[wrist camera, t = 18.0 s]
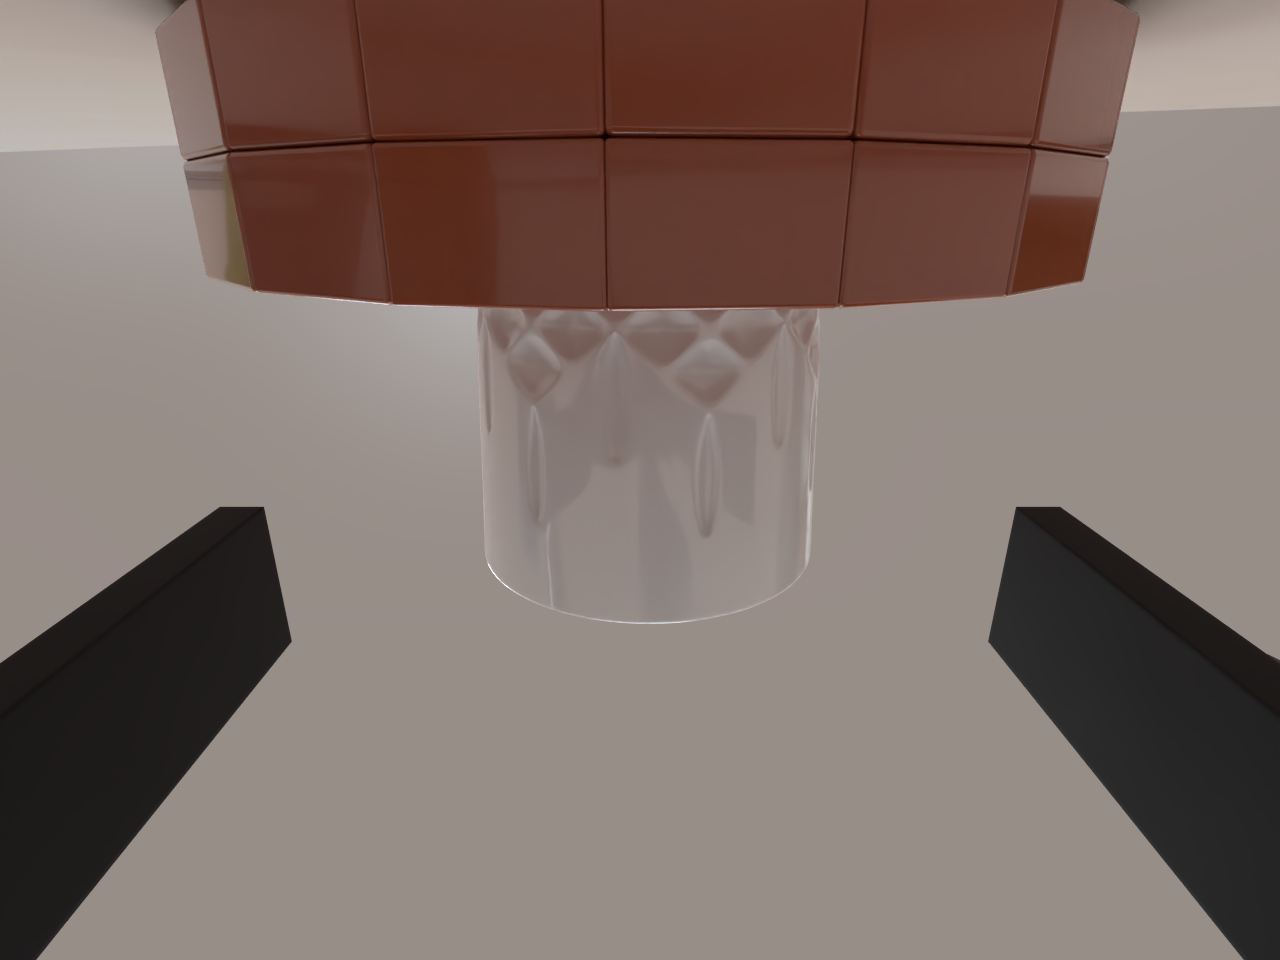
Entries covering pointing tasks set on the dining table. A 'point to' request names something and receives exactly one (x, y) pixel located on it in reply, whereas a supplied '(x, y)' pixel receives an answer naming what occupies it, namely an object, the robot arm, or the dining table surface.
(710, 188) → the bowl
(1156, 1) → the dining table surface
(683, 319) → the white cup
